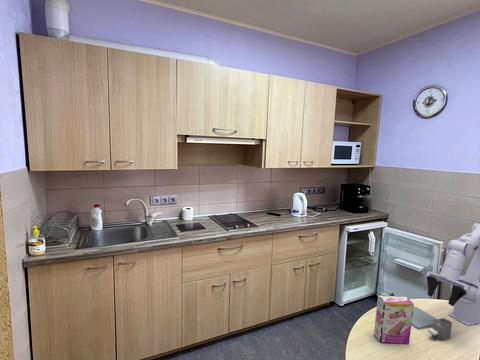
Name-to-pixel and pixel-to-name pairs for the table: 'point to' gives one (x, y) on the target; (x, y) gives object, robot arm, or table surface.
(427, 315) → the slate mat
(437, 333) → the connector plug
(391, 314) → the candy bar box
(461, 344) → the table surface
